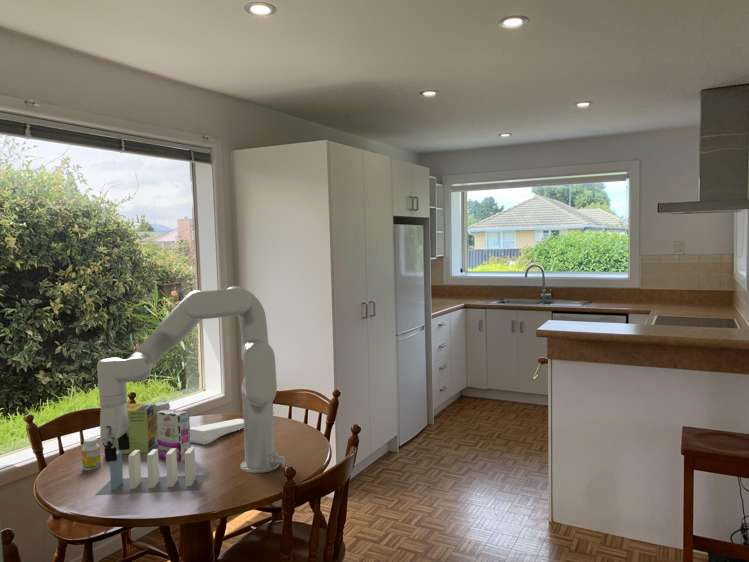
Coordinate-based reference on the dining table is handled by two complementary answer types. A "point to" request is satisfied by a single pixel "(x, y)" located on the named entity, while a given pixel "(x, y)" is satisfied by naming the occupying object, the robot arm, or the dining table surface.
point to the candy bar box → (173, 432)
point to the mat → (160, 487)
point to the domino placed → (116, 471)
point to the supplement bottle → (91, 454)
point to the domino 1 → (134, 469)
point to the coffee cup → (161, 407)
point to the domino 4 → (190, 466)
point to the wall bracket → (214, 430)
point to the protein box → (141, 427)
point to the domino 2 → (153, 468)
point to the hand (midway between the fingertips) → (118, 455)
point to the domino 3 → (171, 467)
